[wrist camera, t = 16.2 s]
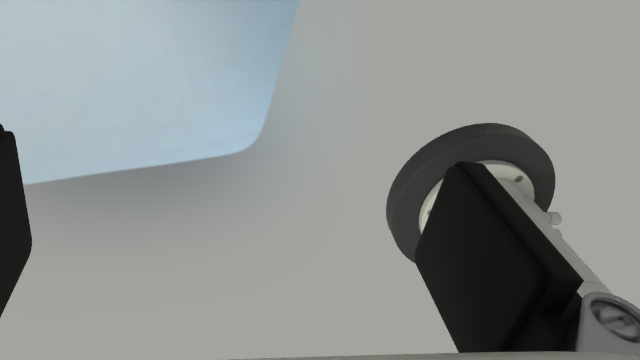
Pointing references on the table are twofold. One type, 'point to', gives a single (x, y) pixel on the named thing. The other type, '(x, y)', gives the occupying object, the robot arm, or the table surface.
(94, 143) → the table surface
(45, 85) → the table surface
